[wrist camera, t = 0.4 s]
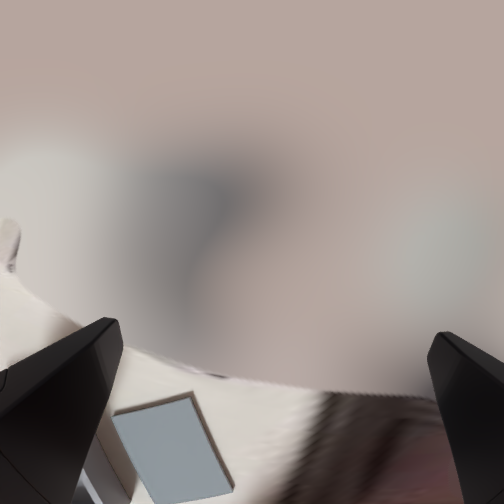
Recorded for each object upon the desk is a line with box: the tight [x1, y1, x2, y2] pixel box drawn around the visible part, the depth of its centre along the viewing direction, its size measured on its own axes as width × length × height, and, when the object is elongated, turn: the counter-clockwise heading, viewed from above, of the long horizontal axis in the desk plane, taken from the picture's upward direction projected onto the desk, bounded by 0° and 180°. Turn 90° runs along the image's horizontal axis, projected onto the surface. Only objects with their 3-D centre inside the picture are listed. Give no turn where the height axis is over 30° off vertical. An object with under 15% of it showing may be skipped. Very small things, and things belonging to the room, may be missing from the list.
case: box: [71, 434, 131, 504], centre depth 19 cm, size 12×10×4 cm
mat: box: [111, 397, 233, 504], centre depth 21 cm, size 9×7×1 cm
